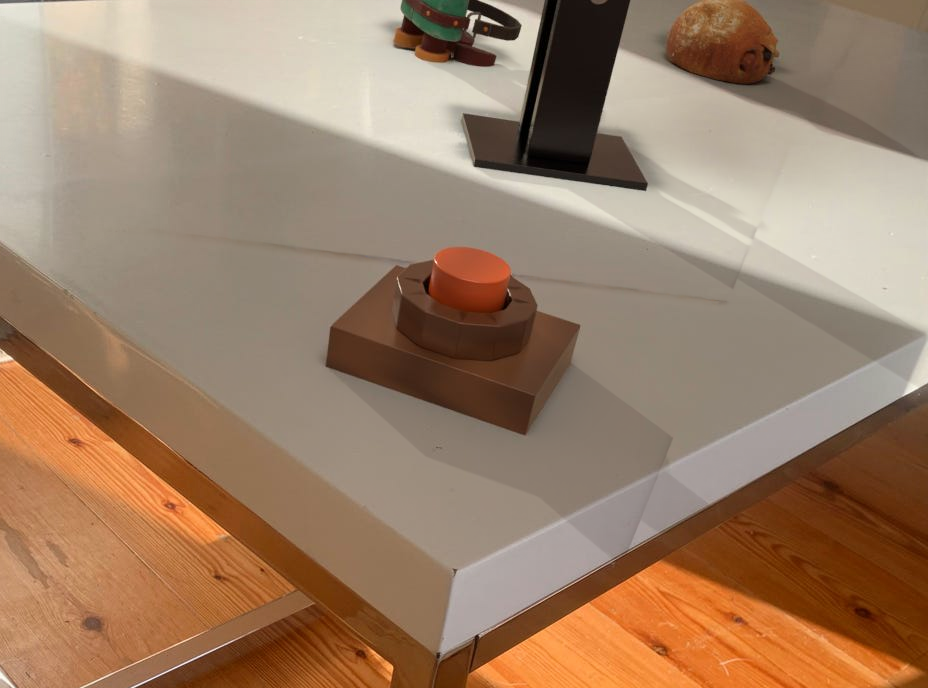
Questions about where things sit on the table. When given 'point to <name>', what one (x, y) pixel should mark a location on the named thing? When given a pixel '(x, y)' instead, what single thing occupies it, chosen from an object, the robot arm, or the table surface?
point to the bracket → (563, 103)
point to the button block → (454, 349)
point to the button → (469, 280)
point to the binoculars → (452, 30)
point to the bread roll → (723, 42)
